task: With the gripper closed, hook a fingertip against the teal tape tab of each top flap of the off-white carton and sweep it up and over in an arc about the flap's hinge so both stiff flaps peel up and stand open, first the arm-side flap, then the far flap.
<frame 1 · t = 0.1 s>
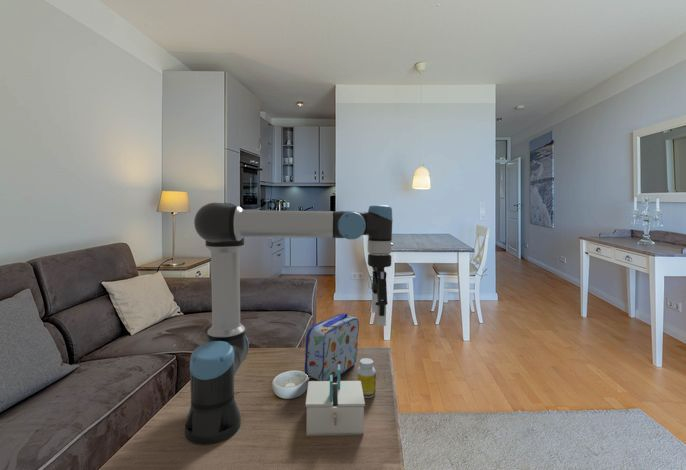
hand: (378, 318, 114), 28 cm above the table, fingers open, 13 cm apart
carton: (334, 420, 105), on the table
pill bottle: (366, 394, 121), on the table
lunch box: (333, 371, 137), on the table
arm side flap: (320, 383, 104), point 12 cm above the table, hinge at 0.0°
far flap: (350, 383, 104), point 11 cm above the table, hinge at 0.0°
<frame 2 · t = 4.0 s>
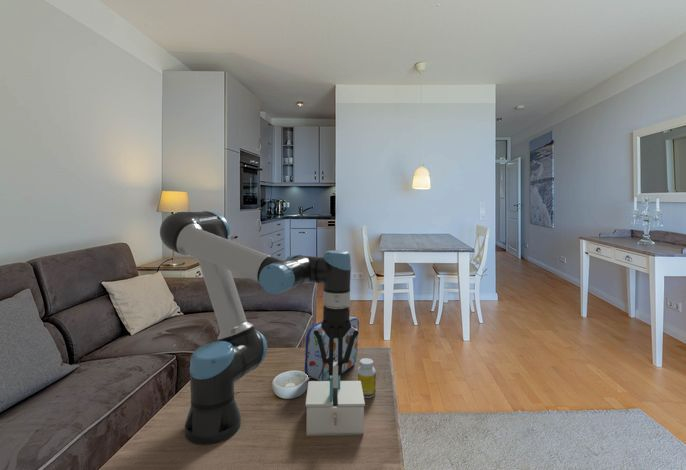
hand: (335, 385, 101), 13 cm above the table, fingers closed
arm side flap: (320, 383, 104), point 12 cm above the table, hinge at 0.0°, touching gripper
everything else where it was.
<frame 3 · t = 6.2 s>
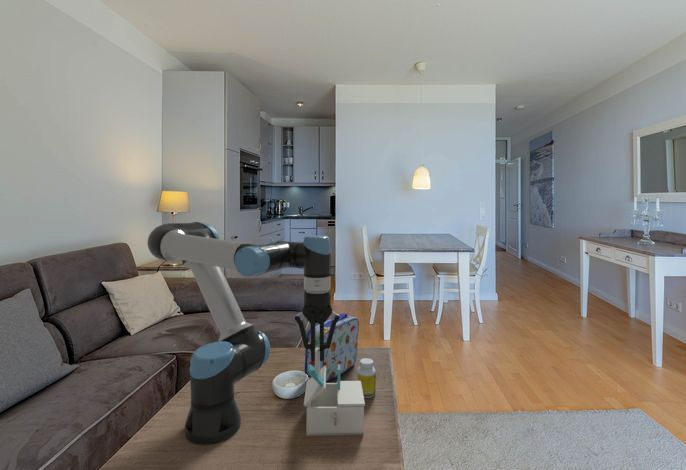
hand: (317, 371, 100), 17 cm above the table, fingers closed
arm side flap: (308, 377, 104), point 13 cm above the table, hinge at 42.7°, touching gripper
everything else where it was.
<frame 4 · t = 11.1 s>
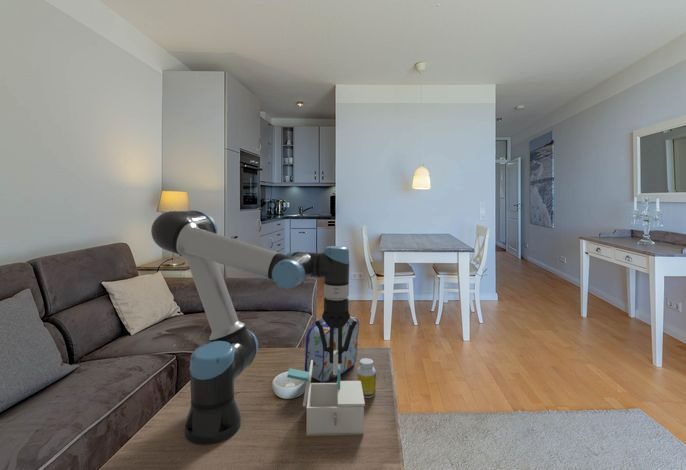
hand: (335, 372, 108), 13 cm above the table, fingers closed
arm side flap: (298, 379, 104), point 13 cm above the table, hinge at 78.1°
far flap: (350, 383, 104), point 12 cm above the table, hinge at 0.1°, touching gripper
everything else where it was.
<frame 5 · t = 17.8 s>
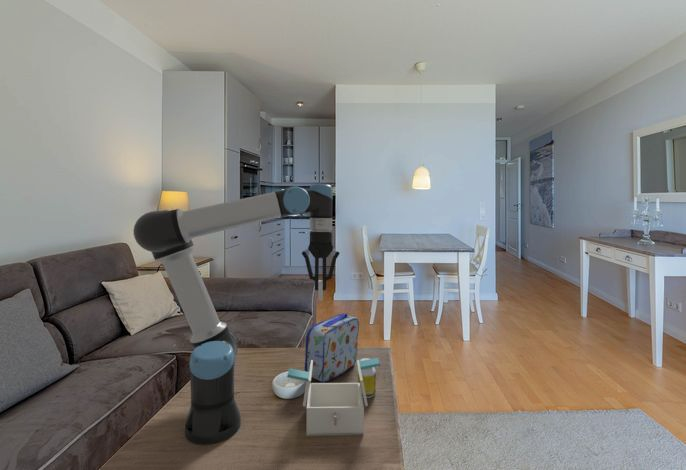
hand: (320, 299, 120), 32 cm above the table, fingers closed
far flap: (371, 379, 105), point 13 cm above the table, hinge at 78.1°
everything else where it was.
at the end: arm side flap at +78° (first picture: +0°); far flap at +78° (first picture: +0°) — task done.
